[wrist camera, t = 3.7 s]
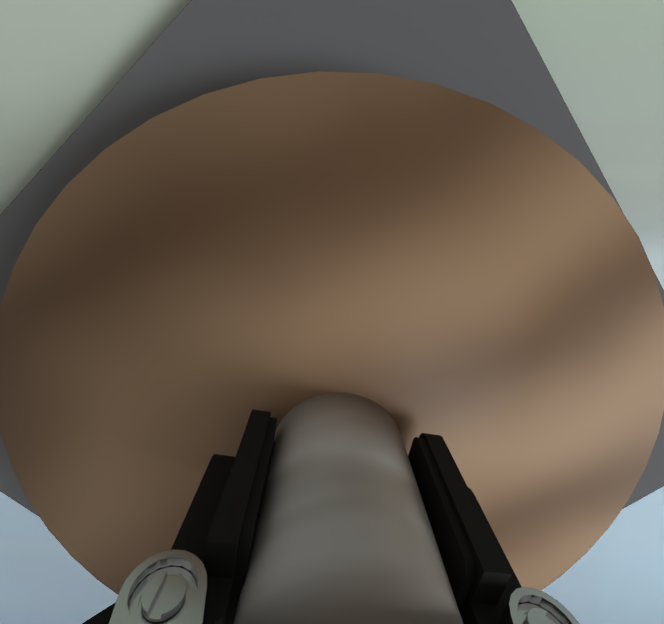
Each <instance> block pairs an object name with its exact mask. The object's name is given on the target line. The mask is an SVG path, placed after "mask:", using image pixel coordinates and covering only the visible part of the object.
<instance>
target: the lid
mask: <svg viewBox="0 0 664 624" xmlns="http://www.w3.org/2000/svg"><path fill="white" fill-rule="evenodd" d="M252 409H254V410H261V411H269V412H271V417H274V418H277V425H276V432H275V438H274V444H273V449H272V454H271V459H270V463H269V468H268V473H267V478H266V482H265V487H264V492H263V497H262V502H261V506H260V511H259V516H258V521H257V525H256V530H255V535H254V540H253V545H252V549H251V554H250V559H249V564H248V568H247V573H246V578H245V583H244V585H243V587H242V590H241V593H240V597H239V601H238V605H237V610H236V615H235V619H234V624H463V621H462V618H461V615H460V612H459V609H458V606H457V603H456V600H455V597H454V594H453V591H452V588H451V585H450V582H449V579H448V576H447V573H446V570H445V567H444V564H443V561H442V558H441V555H440V552H439V549H438V546H437V542H436V539H435V536H434V533H433V530H432V527H431V524H430V521H429V518H428V515H427V512H426V509H425V506H424V503H423V500H422V497H421V494H420V491H419V488H418V485H417V482H416V479H415V476H414V473H413V470H412V467H411V464H410V461H409V458H408V455H409V452H410V448H411V445H412V442H413V439H414V438H415V437H419V436H420V434H421V433H427V434H434V435H440V436H442V437H443V439H444V441H445V443H446V445H447V447H448V449H449V451H450V453H451V455H452V457H453V459H454V461H455V463H456V465H457V467H458V469H459V471H460V473H461V475H462V477H463V479H464V481H465V483H466V485H467V487H469V488H470V489H471V490H472V492H473V493H474V495H475V497H476V499H477V501H478V503H479V505H480V506H481V508H482V510H483V512H484V514H485V516H486V518H487V520H488V522H489V524H490V526H491V528H492V530H493V532H494V534H495V536H496V538H497V540H498V542H499V544H500V546H501V547H502V549H503V551H504V553H505V555H506V557H507V559H508V561H509V563H510V565H511V567H512V569H513V571H514V573H515V575H516V577H517V579H518V581H519V583H520V585H521V587H530V588H535V589H538V590H540V591H541V590H542V589H544V588H545V587H546V586H548V585H549V584H551V583H552V582H553V581H555V580H556V579H557V578H559V577H560V576H561V575H562V574H564V573H565V572H566V571H567V570H568V569H569V568H570V567H571V566H572V565H573V564H575V563H576V562H577V561H578V560H579V559H580V558H581V557H582V556H583V555H585V554H586V553H587V552H588V550H589V549H590V548H591V547H592V546H593V545H594V544H595V543H596V541H597V540H598V539H599V538H600V537H601V536H602V535H603V534H604V532H605V531H606V530H607V529H608V528H609V527H610V525H611V524H612V522H613V521H614V520H615V518H616V517H617V515H618V514H619V512H620V511H621V510H622V508H623V507H624V505H625V504H626V502H627V501H628V500H629V498H630V496H631V494H632V492H633V491H634V489H635V487H636V485H637V483H638V481H639V479H640V477H641V476H642V474H643V472H644V470H645V468H646V466H647V463H648V460H649V458H650V455H651V452H652V450H653V447H654V444H655V442H656V439H657V436H658V434H659V430H660V425H661V421H662V416H663V412H664V307H663V303H662V299H661V295H660V291H659V287H658V283H657V279H656V276H655V274H654V271H653V269H652V267H651V265H650V262H649V260H648V258H647V255H646V253H645V251H644V248H643V246H642V244H641V242H640V239H639V237H638V235H637V234H636V232H635V231H634V229H633V228H632V226H631V225H630V223H629V222H628V220H627V218H626V217H625V215H624V214H623V212H622V211H621V209H620V208H619V206H618V205H617V203H616V202H615V200H614V199H613V197H612V196H611V195H610V194H609V193H608V192H607V191H606V190H605V189H604V187H603V186H602V185H601V184H600V183H599V182H598V181H597V180H596V179H595V178H594V177H593V176H592V174H591V173H590V172H589V171H588V170H587V169H586V168H585V167H584V166H583V165H582V164H581V162H580V161H578V160H577V159H576V158H574V157H573V156H572V155H571V154H569V153H568V152H567V151H565V150H564V149H563V148H562V147H560V146H559V145H558V144H556V143H555V142H554V141H553V140H551V139H550V138H549V137H548V136H546V135H545V134H544V133H542V132H541V131H540V130H538V129H537V128H535V127H533V126H531V125H529V124H527V123H526V122H524V121H522V120H520V119H518V118H517V117H515V116H513V115H511V114H509V113H507V112H506V111H504V110H502V109H500V108H498V107H496V106H495V105H493V104H491V103H488V102H485V101H483V100H480V99H477V98H474V97H471V96H469V95H466V94H463V93H460V92H457V91H455V90H452V89H449V88H446V87H443V86H441V85H438V84H433V83H428V82H423V81H417V80H412V79H407V78H401V77H396V76H391V75H386V74H380V73H354V72H325V71H318V72H310V73H302V74H293V75H285V76H277V77H268V78H260V79H257V80H253V81H250V82H246V83H242V84H239V85H235V86H232V87H228V88H225V89H221V90H217V91H214V92H210V93H207V94H203V95H201V96H199V97H197V98H195V99H192V100H190V101H188V102H186V103H184V104H181V105H179V106H177V107H175V108H173V109H170V110H168V111H166V112H164V113H162V114H160V115H157V116H155V117H153V118H151V119H149V120H148V121H146V122H145V123H143V124H142V125H140V126H139V127H137V128H136V129H134V130H133V131H131V132H130V133H128V134H127V135H125V136H124V137H122V138H121V139H119V140H118V141H116V142H115V143H113V144H112V145H110V146H109V147H107V148H106V149H105V150H103V151H102V152H101V153H100V154H99V155H98V156H97V157H96V158H95V159H94V160H93V161H92V162H91V163H90V164H88V165H87V166H86V167H85V168H84V169H83V170H82V171H81V172H80V173H79V174H78V175H77V176H76V177H74V178H73V179H72V180H71V181H70V182H69V183H68V184H67V185H66V186H65V187H64V189H63V190H62V191H61V193H60V194H59V195H58V197H57V198H56V199H55V200H54V202H53V203H52V204H51V206H50V207H49V208H48V210H47V211H46V212H45V213H44V215H43V216H42V217H41V219H40V220H39V221H38V222H37V224H36V225H35V227H34V229H33V231H32V233H31V235H30V237H29V238H28V240H27V242H26V244H25V246H24V248H23V250H22V252H21V254H20V255H19V257H18V259H17V261H16V263H15V265H14V267H13V270H12V273H11V276H10V279H9V282H8V285H7V288H6V291H5V294H4V297H3V300H2V303H1V306H0V432H1V435H2V438H3V441H4V444H5V447H6V450H7V453H8V456H9V459H10V462H11V466H12V468H13V470H14V472H15V474H16V476H17V478H18V480H19V482H20V484H21V486H22V488H23V490H24V492H25V494H26V496H27V498H28V500H29V501H30V503H31V504H32V506H33V507H34V509H35V510H36V512H37V513H38V515H39V516H40V518H41V519H42V521H43V522H44V524H45V525H46V527H47V528H48V530H49V531H50V532H51V533H52V534H53V535H54V536H55V538H56V539H57V540H58V541H59V542H60V543H61V545H62V546H63V547H64V548H65V549H66V550H67V551H68V553H69V554H70V555H71V556H72V557H73V558H74V559H75V560H76V561H78V562H79V563H80V564H81V565H82V566H83V567H84V568H85V569H86V570H87V571H89V572H90V573H91V574H92V575H93V576H94V577H95V578H96V579H97V580H99V581H100V582H102V583H103V584H104V585H106V586H107V587H108V588H110V589H111V590H113V591H114V592H115V593H117V594H118V595H119V592H120V590H121V588H122V586H123V584H124V582H125V580H126V579H127V578H128V576H129V575H130V574H131V573H132V571H133V570H134V569H135V568H136V567H137V566H138V565H140V564H141V563H142V562H144V561H145V560H146V559H147V558H149V557H151V556H154V555H156V554H158V553H160V552H164V551H169V550H171V548H172V546H173V544H174V541H175V539H176V537H177V534H178V532H179V530H180V528H181V525H182V523H183V521H184V519H185V516H186V514H187V512H188V510H189V507H190V505H191V503H192V500H193V498H194V496H195V494H196V491H197V489H198V487H199V485H200V482H201V480H202V478H203V476H204V473H205V471H206V469H207V467H208V464H209V462H210V460H211V458H212V456H213V455H214V454H219V455H226V456H234V457H236V454H237V451H238V448H239V445H240V443H241V440H242V437H243V434H244V431H245V428H246V425H247V422H248V420H249V417H250V414H251V411H252Z"/></svg>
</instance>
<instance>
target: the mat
mask: <svg viewBox="0 0 664 624" xmlns="http://www.w3.org/2000/svg"><path fill="white" fill-rule="evenodd" d="M318 71H325V72H354V73H380V74H386V75H391V76H396V77H401V78H407V79H412V80H417V81H423V82H428V83H433V84H438V85H441V86H443V87H446V88H449V89H452V90H455V91H457V92H460V93H463V94H466V95H469V96H471V97H474V98H477V99H480V100H483V101H485V102H488V103H491V104H493V105H495V106H496V107H498V108H500V109H502V110H504V111H506V112H507V113H509V114H511V115H513V116H515V117H517V118H518V119H520V120H522V121H524V122H526V123H527V124H529V125H531V126H533V127H535V128H537V129H538V130H540V131H541V132H542V133H544V134H545V135H546V136H548V137H549V138H550V139H551V140H553V141H554V142H555V143H556V144H558V145H559V146H560V147H562V148H563V149H564V150H565V151H567V152H568V153H569V154H571V155H572V156H573V157H574V158H576V159H577V160H578V161H580V162H581V164H582V165H583V166H584V167H585V168H586V169H587V170H588V171H589V172H590V173H591V174H592V176H593V177H594V178H595V179H596V180H597V181H598V182H599V183H600V184H601V185H602V186H603V187H604V189H605V190H606V191H607V192H608V193H609V194H610V195H611V196H612V197H613V199H614V200H615V202H616V203H617V205H618V206H619V204H618V202H617V200H616V198H615V197H614V195H613V193H612V191H611V189H610V187H609V185H608V183H607V181H606V179H605V178H604V176H603V174H602V172H601V170H600V168H599V166H598V164H597V162H596V160H595V159H594V157H593V155H592V153H591V151H590V149H589V147H588V145H587V143H586V141H585V140H584V138H583V136H582V134H581V132H580V130H579V128H578V126H577V124H576V122H575V121H574V119H573V117H572V115H571V113H570V111H569V109H568V107H567V105H566V103H565V102H564V100H563V98H562V96H561V94H560V92H559V90H558V88H557V86H556V84H555V82H554V81H553V79H552V77H551V75H550V73H549V71H548V69H547V67H546V65H545V63H544V62H543V60H542V58H541V56H540V54H539V52H538V50H537V48H536V46H535V44H534V43H533V41H532V39H531V37H530V35H529V33H528V31H527V29H526V27H525V25H524V24H523V22H522V20H521V18H520V16H519V14H518V12H517V10H516V8H515V6H514V5H513V3H512V1H511V0H191V1H190V2H189V4H188V5H187V6H186V7H185V8H184V9H183V10H182V11H181V13H180V14H179V15H178V16H177V17H176V18H175V19H174V20H173V22H172V23H171V24H170V25H169V26H168V27H167V28H166V29H165V31H164V32H163V33H162V34H161V35H160V36H159V37H158V38H157V40H156V41H155V42H154V43H153V44H152V45H151V46H150V47H149V49H148V50H147V51H146V52H145V53H144V54H143V55H142V56H141V58H140V59H139V60H138V61H137V62H136V63H135V64H134V65H133V67H132V68H131V69H130V70H129V71H128V72H127V73H126V74H125V76H124V77H123V78H122V79H121V80H120V81H119V82H118V83H117V85H116V86H115V87H114V88H113V89H112V90H111V91H110V92H109V94H108V95H107V96H106V97H105V98H104V99H103V100H102V101H101V103H100V104H99V105H98V106H97V107H96V108H95V109H94V110H93V112H92V113H91V114H90V115H89V116H88V117H87V118H86V119H85V121H84V122H83V123H82V124H81V125H80V126H79V127H78V128H77V130H76V131H75V132H74V133H73V134H72V135H71V136H70V137H69V139H68V140H67V141H66V142H65V143H64V144H63V145H62V146H61V148H60V149H59V150H58V151H57V152H56V153H55V154H54V155H53V157H52V158H51V159H50V160H49V161H48V162H47V163H46V164H45V165H44V167H43V168H42V169H41V170H40V171H39V172H38V173H37V174H36V176H35V177H34V178H33V179H32V180H31V181H30V182H29V183H28V185H27V186H26V187H25V188H24V189H23V190H22V191H21V192H20V194H19V195H18V196H17V197H16V198H15V199H14V200H13V201H12V203H11V204H10V205H9V206H8V207H7V208H6V209H5V210H4V212H3V213H2V214H1V215H0V306H1V303H2V300H3V297H4V294H5V291H6V288H7V285H8V282H9V279H10V276H11V273H12V270H13V267H14V265H15V263H16V261H17V259H18V257H19V255H20V254H21V252H22V250H23V248H24V246H25V244H26V242H27V240H28V238H29V237H30V235H31V233H32V231H33V229H34V227H35V225H36V224H37V222H38V221H39V220H40V219H41V217H42V216H43V215H44V213H45V212H46V211H47V210H48V208H49V207H50V206H51V204H52V203H53V202H54V200H55V199H56V198H57V197H58V195H59V194H60V193H61V191H62V190H63V189H64V187H65V186H66V185H67V184H68V183H69V182H70V181H71V180H72V179H73V178H74V177H76V176H77V175H78V174H79V173H80V172H81V171H82V170H83V169H84V168H85V167H86V166H87V165H88V164H90V163H91V162H92V161H93V160H94V159H95V158H96V157H97V156H98V155H99V154H100V153H101V152H102V151H103V150H105V149H106V148H107V147H109V146H110V145H112V144H113V143H115V142H116V141H118V140H119V139H121V138H122V137H124V136H125V135H127V134H128V133H130V132H131V131H133V130H134V129H136V128H137V127H139V126H140V125H142V124H143V123H145V122H146V121H148V120H149V119H151V118H153V117H155V116H157V115H160V114H162V113H164V112H166V111H168V110H170V109H173V108H175V107H177V106H179V105H181V104H184V103H186V102H188V101H190V100H192V99H195V98H197V97H199V96H201V95H203V94H207V93H210V92H214V91H217V90H221V89H225V88H228V87H232V86H235V85H239V84H242V83H246V82H250V81H253V80H257V79H260V78H268V77H277V76H285V75H293V74H302V73H310V72H318ZM619 208H620V206H619ZM620 209H621V208H620ZM621 211H622V210H621ZM654 274H655V273H654ZM655 276H656V275H655ZM656 279H657V283H658V287H659V291H660V295H661V299H662V303H663V307H664V290H663V288H662V286H661V284H660V282H659V280H658V278H657V276H656ZM663 486H664V412H663V416H662V421H661V425H660V430H659V434H658V436H657V439H656V442H655V444H654V447H653V450H652V452H651V455H650V458H649V460H648V463H647V466H646V468H645V470H644V472H643V474H642V476H641V477H640V479H639V481H638V483H637V485H636V487H635V489H634V491H633V492H632V494H631V496H630V498H629V500H628V501H627V502H626V504H625V505H624V507H623V508H625V507H627V506H629V505H631V504H632V503H634V502H636V501H638V500H639V499H641V498H643V497H645V496H647V495H648V494H650V493H652V492H654V491H656V490H657V489H659V488H661V487H663ZM0 491H1V492H2V493H4V494H5V495H7V496H8V497H10V498H12V499H13V500H15V501H16V502H18V503H19V504H21V505H22V506H24V507H25V508H27V509H28V510H30V511H31V512H33V513H34V514H36V515H37V516H39V515H38V513H37V512H36V510H35V509H34V507H33V506H32V504H31V503H30V501H29V500H28V498H27V496H26V494H25V492H24V490H23V488H22V486H21V484H20V482H19V480H18V478H17V476H16V474H15V472H14V470H13V468H12V466H11V462H10V459H9V456H8V453H7V450H6V447H5V444H4V441H3V438H2V435H1V432H0ZM623 508H622V509H623ZM39 517H40V516H39Z"/></svg>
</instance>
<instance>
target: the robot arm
mask: <svg viewBox="0 0 664 624" xmlns="http://www.w3.org/2000/svg"><path fill="white" fill-rule="evenodd" d="M276 425H277V418H274V417H271V412H269V411H261V410H254V409H252V411H251V414H250V417H249V420H248V422H247V425H246V428H245V431H244V434H243V437H242V440H241V443H240V445H239V448H238V451H237V454H236V457H234V456H226V455H219V454H214V455H213V456H212V458H211V460H210V462H209V464H208V467H207V469H206V471H205V473H204V476H203V478H202V480H201V482H200V485H199V487H198V489H197V491H196V494H195V496H194V498H193V500H192V503H191V505H190V507H189V510H188V512H187V514H186V516H185V519H184V521H183V523H182V525H181V528H180V530H179V532H178V534H177V537H176V539H175V541H174V544H173V546H172V548H171V550H169V551H164V552H160V553H158V554H156V555H154V556H151V557H149V558H147V559H146V560H145V561H144V562H142V563H141V564H140V565H138V566H137V567H136V568H135V569H134V570H133V571H132V573H131V574H130V575H129V576H128V578H127V579H126V580H125V582H124V584H123V586H122V588H121V590H120V592H119V595H118V598H117V601H116V603H114V604H113V605H111V606H109V607H108V608H106V609H105V610H103V611H101V612H100V613H98V614H97V615H95V616H94V617H92V618H90V619H89V620H87V621H86V622H84V623H82V624H234V619H235V615H236V610H237V605H238V601H239V597H240V593H241V590H242V587H243V585H244V583H245V578H246V573H247V568H248V564H249V559H250V554H251V549H252V545H253V540H254V535H255V530H256V525H257V521H258V516H259V511H260V506H261V502H262V497H263V492H264V487H265V482H266V478H267V473H268V468H269V463H270V459H271V454H272V449H273V444H274V438H275V432H276ZM408 458H409V461H410V464H411V467H412V470H413V473H414V476H415V479H416V482H417V485H418V488H419V491H420V494H421V497H422V500H423V503H424V506H425V509H426V512H427V515H428V518H429V521H430V524H431V527H432V530H433V533H434V536H435V539H436V542H437V546H438V549H439V552H440V555H441V558H442V561H443V564H444V567H445V570H446V573H447V576H448V579H449V582H450V585H451V588H452V591H453V594H454V597H455V600H456V603H457V606H458V609H459V612H460V615H461V618H462V621H463V624H579V623H578V621H577V620H576V619H575V618H574V617H573V615H572V614H571V613H570V612H569V611H568V610H567V609H566V608H565V607H564V606H563V605H562V604H561V603H559V602H558V601H557V600H556V599H554V598H553V597H551V596H550V595H548V594H547V593H545V592H542V591H540V590H538V589H535V588H530V587H521V585H520V583H519V581H518V579H517V577H516V575H515V573H514V571H513V569H512V567H511V565H510V563H509V561H508V559H507V557H506V555H505V553H504V551H503V549H502V547H501V546H500V544H499V542H498V540H497V538H496V536H495V534H494V532H493V530H492V528H491V526H490V524H489V522H488V520H487V518H486V516H485V514H484V512H483V510H482V508H481V506H480V505H479V503H478V501H477V499H476V497H475V495H474V493H473V492H472V490H471V489H470V488H469V487H467V485H466V483H465V481H464V479H463V477H462V475H461V473H460V471H459V469H458V467H457V465H456V463H455V461H454V459H453V457H452V455H451V453H450V451H449V449H448V447H447V445H446V443H445V441H444V439H443V437H442V436H440V435H434V434H427V433H421V434H420V436H419V437H415V438H414V439H413V442H412V445H411V448H410V452H409V455H408Z"/></svg>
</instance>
